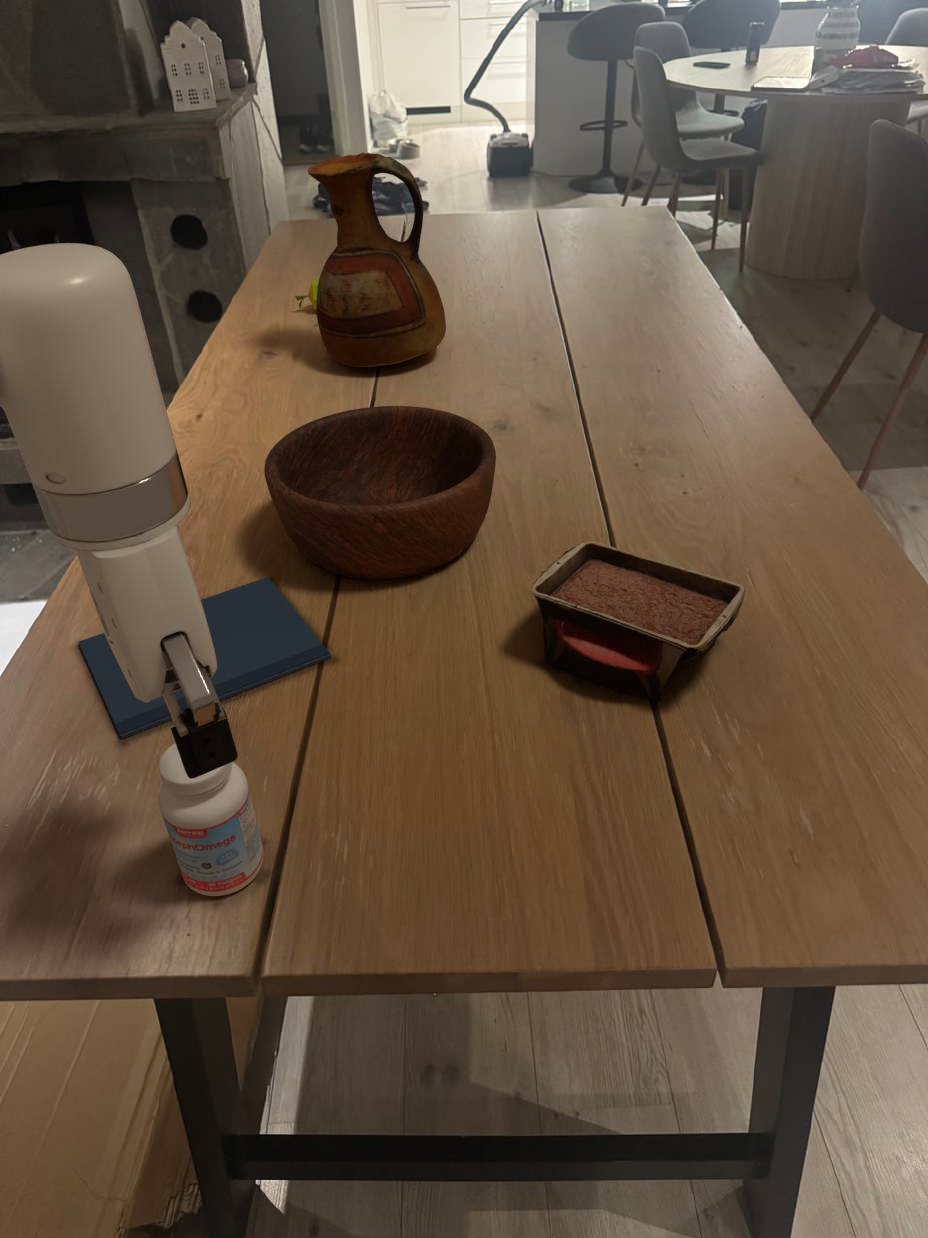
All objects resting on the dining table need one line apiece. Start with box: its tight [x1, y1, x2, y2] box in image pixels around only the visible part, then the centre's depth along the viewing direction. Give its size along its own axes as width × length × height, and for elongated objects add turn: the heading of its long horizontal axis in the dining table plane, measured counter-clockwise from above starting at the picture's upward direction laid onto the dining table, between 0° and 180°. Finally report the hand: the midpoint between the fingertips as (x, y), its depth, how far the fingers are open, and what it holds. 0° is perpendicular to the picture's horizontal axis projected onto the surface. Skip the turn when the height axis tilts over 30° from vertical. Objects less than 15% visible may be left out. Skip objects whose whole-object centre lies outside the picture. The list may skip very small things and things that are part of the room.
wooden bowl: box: [263, 405, 497, 580], centre depth 103 cm, size 25×25×10 cm
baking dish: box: [530, 541, 746, 703], centre depth 85 cm, size 14×18×10 cm
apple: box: [294, 277, 320, 311], centre depth 168 cm, size 7×6×9 cm
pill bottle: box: [158, 742, 264, 897], centre depth 66 cm, size 6×6×11 cm
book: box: [78, 576, 332, 740], centre depth 90 cm, size 20×16×1 cm
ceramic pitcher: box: [307, 152, 447, 368], centre depth 141 cm, size 20×20×30 cm
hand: (188, 721), depth 60 cm, fingers open, 9 cm apart
